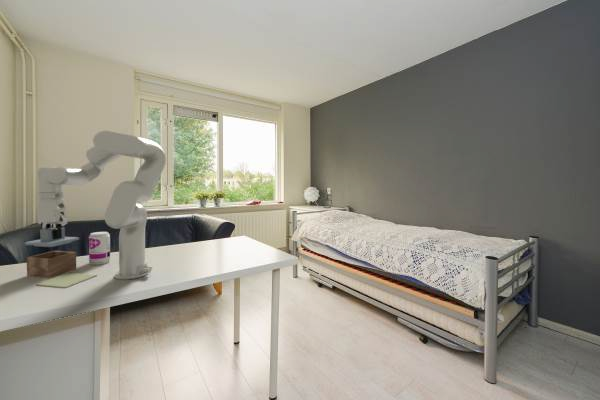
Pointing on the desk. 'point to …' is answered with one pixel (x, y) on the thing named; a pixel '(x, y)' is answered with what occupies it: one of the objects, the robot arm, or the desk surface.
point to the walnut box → (51, 264)
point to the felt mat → (66, 280)
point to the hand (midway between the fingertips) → (53, 238)
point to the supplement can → (99, 248)
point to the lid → (51, 239)
